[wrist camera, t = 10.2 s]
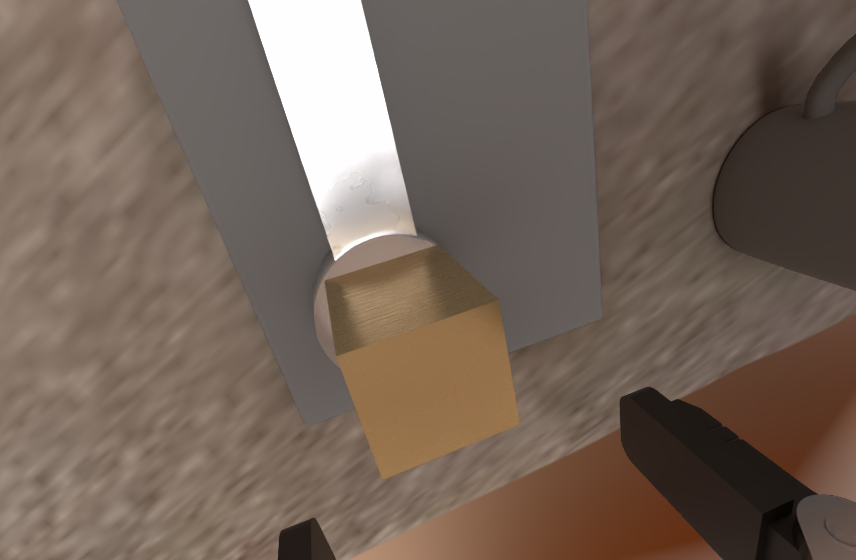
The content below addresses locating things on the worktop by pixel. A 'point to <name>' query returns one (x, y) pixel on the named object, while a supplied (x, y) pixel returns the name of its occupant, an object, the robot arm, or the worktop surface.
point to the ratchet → (339, 137)
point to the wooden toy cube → (421, 357)
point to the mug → (797, 183)
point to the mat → (418, 155)
